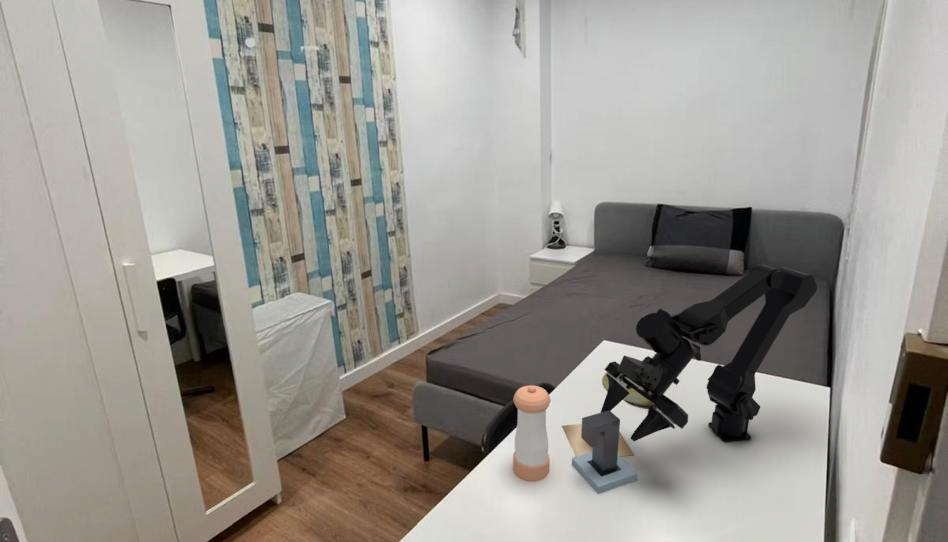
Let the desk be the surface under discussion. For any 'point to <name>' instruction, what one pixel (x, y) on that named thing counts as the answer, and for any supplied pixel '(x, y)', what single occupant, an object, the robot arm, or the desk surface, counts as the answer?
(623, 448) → the tan metal pad
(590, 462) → the square socket block
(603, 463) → the grey hook block
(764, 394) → the desk surface
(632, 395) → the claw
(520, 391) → the salt shaker
